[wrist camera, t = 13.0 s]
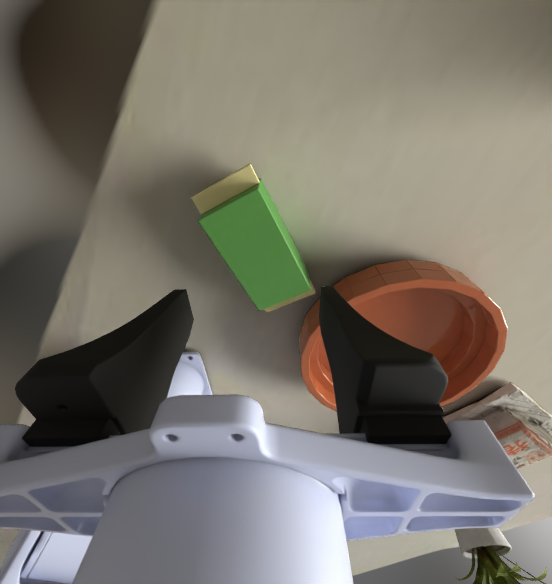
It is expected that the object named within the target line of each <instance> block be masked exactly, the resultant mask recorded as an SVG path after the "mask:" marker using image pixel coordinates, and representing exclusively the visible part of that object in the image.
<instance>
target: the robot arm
mask: <svg viewBox="0 0 552 584" xmlns="http://www.w3.org/2000/svg"><path fill="white" fill-rule="evenodd" d="M193 320H194V319H193V315H192V311H191V307H190V303H189V299H188V295H187V291H186V289H184V290H174V291H172V292H171V293H169V294H168V295H166V296H165V297H164V298H162V299H161V300H160V301H158V302H157V303H156V304H154V305H153V306H152V307H150V308H149V309H148V310H146V311H145V312H143V313H142V314H140V315H139V316H137V317H136V318H134V319H133V320H131V321H130V322H128V323H127V324H125V325H123V326H121V327H120V328H118V329H116V330H114V331H112V332H110V333H108V334H106V335H104V336H102V337H100V338H98V339H96V340H94V341H91V342H89V343H86V344H84V345H82V346H79V347H76V348H74V349H71V350H68V351H66V352H63V353H59V354H56V355H53V356H50V357H47V358H44V359H40V360H39V361H38V362H37V363H36V364H35V365H34V366H33V367H32V368H31V369H30V370H29V371H28V372H27V373H26V374H25V375H24V376H23V377H22V378H21V379H20V381H19V382H18V383H17V384H16V387H15V391H16V395H17V397H18V398H19V400H20V401H21V402H22V404H23V405H24V406H25V407H26V408H27V409H28V410H29V411H30V413H31V414H32V415H33V416H34V417H35V418H36V420H35V422H34V423H33V424H32V425H31V427H29V426H26V425H23V424H0V528H7V529H21V530H20V532H19V533H18V535H17V537H16V538H15V540H14V542H13V544H12V545H11V547H10V549H9V551H8V553H7V554H6V556H5V558H4V560H3V566H2V567H1V569H0V584H59V583H65V584H353V580H352V573H351V567H350V561H349V554H348V548H347V542H346V541H349V540H358V539H366V538H375V537H384V536H392V535H401V534H410V533H418V532H427V531H437V530H448V529H464V528H499V527H501V526H502V525H504V524H505V523H506V522H507V521H508V520H509V519H511V518H512V517H513V516H514V515H515V514H517V513H518V512H519V511H520V510H521V509H522V508H524V507H525V506H526V505H527V504H528V503H529V502H531V501H532V500H533V499H534V497H535V495H534V493H533V492H532V490H531V489H530V487H529V486H528V484H527V483H526V481H525V480H524V478H523V477H522V475H521V474H520V472H519V471H518V470H517V468H516V467H515V465H514V464H513V462H512V461H511V459H510V458H509V456H508V455H507V453H506V452H505V450H504V449H503V447H502V446H501V444H500V443H499V441H498V440H497V438H496V437H495V435H494V434H493V432H492V431H491V429H490V428H489V426H488V425H487V423H486V422H485V421H483V420H454V421H450V422H448V423H447V424H446V423H445V422H444V420H443V418H442V416H441V415H443V409H442V408H441V406H440V404H439V402H440V400H441V398H442V396H443V394H444V392H445V390H446V388H447V384H448V376H447V374H446V373H445V371H444V370H443V368H442V366H441V365H440V363H439V362H438V360H437V359H436V358H435V356H434V355H433V354H431V353H429V352H426V351H424V350H421V349H418V348H416V347H413V346H411V345H409V344H407V343H405V342H402V341H400V340H398V339H396V338H395V337H393V336H391V335H389V334H387V333H386V332H384V331H382V330H381V329H379V328H378V327H376V326H375V325H373V324H372V323H371V322H369V321H368V320H366V319H365V318H364V317H363V316H362V315H360V314H359V313H358V312H357V311H356V310H355V309H354V308H353V307H352V306H351V305H350V304H348V303H347V301H346V300H345V299H344V298H343V297H342V296H341V295H340V294H339V293H338V292H337V291H336V289H335V288H334V287H321V295H320V308H319V323H320V330H321V336H322V339H323V343H324V347H325V351H326V354H327V358H328V362H329V365H330V370H331V374H332V380H333V387H334V394H335V401H336V408H337V415H338V423H339V431H340V434H322V433H317V432H312V431H307V430H302V429H297V428H292V427H287V426H282V425H276V424H271V423H266V422H264V418H263V410H262V408H261V406H260V404H259V403H258V402H257V401H255V400H253V399H252V398H250V397H248V396H243V395H236V394H235V395H213V394H212V391H211V387H210V384H209V381H208V377H207V374H206V370H205V367H204V364H203V360H202V357H201V354H200V353H199V352H183V351H184V348H185V346H186V343H187V341H188V338H189V336H190V332H191V329H192V324H193ZM190 356H191V357H190ZM31 554H32V555H31ZM42 580H43V581H42ZM45 581H51V582H45ZM52 582H58V583H52Z"/></svg>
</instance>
